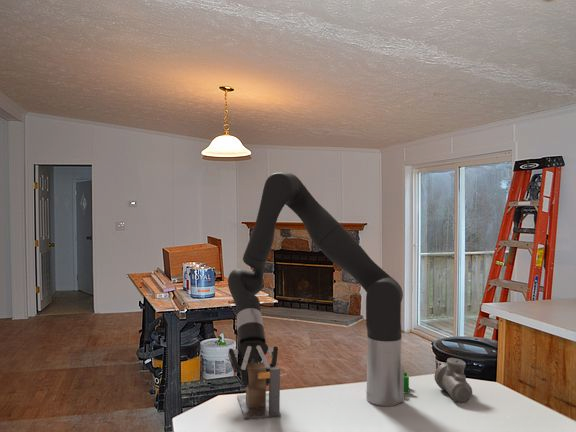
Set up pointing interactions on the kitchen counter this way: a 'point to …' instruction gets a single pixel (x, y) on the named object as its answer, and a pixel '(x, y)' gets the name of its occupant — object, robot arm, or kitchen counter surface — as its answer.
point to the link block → (255, 385)
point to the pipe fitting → (453, 379)
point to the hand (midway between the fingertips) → (256, 384)
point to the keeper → (271, 398)
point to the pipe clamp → (406, 382)
